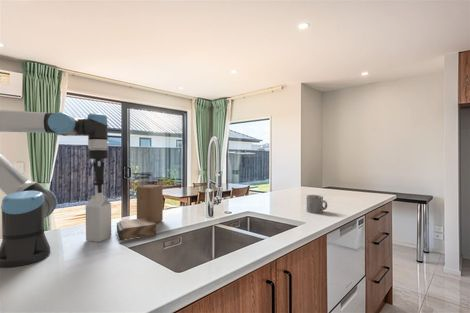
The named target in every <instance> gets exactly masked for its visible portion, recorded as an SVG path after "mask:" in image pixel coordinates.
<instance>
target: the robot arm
mask: <svg viewBox="0 0 470 313" xmlns="http://www.w3.org/2000/svg"><path fill="white" fill-rule="evenodd" d="M108 127H109V125H108V117H107V115H106V114H104V113H88V114H87V117H86V118H85V117H84V118H83V117H80V118H79V117H73V116H72V115H70V114H68V113H66V112H60V111H58V112H57V111H56V112H44V111H43V112H42V111H41V112H40V111H39V112H38V111H24V110H7V109H6V110H5V109H0V132H3V133H5V132H8V133H31V134H33V133H34V134H35V133H36V134H37V133H38V134H40V133H41V134H55V135H57V136H61V137H62V136H63V137H64V136H65V137H67V136H69V137H72V136H74V137H76V136H77V137H78V136H79V137H80V136H81V137H83V136H84V137H87V139H88V140H87V145H88V146H87V148H88V159H92V160H94V159H95V160H94V163H92V165H93V172H94V183H93V185H94V196H96V201H102V200H103V196H104V173H103V172H104V167H105V164H104V162H103V159H105V160H106V159H108V158H109V151H108V150H107V149H108V148H109V147H108V145H110V142H109V141H108V140H109V139H108V138H109V137H108V136H109V135H108V133H109V131H108V130H109V129H108ZM0 190H1V191H2V192H3V193H4V194H5V196H4V197H3V198H2V200H1V206H0V209H1V230H2V231H1V233H2V236H1V237H2V240H1V243H0V268H13V267H15V268H16V267H20V266H26V265H29V264H33V263H36V262H39V261H42V260H44V259H46V258H48V257H49V256H50V255H51V246H50V243H49V241H48V239H47V237H46V235H45V234H46V233H45V218H48V217H50V215H52V214H53V212H54V211H55V209H56V207H57V205H58V199H57V197H56V194H55V193H54V192H52V191H51V190H49V189H46V188H44V187H43V186H42V185H40V184H39V183H38V181H31V180H30V179H28V178H27V177H26V176H25V175H24V174H23V173H22V172H21V171H19V170H18V168H17V167H16V166H15V165H14V164H12V163H11V162H10V161H9V159H7V158H6V157H5V156H4V155H3V154H2V153H1V152H0Z"/></svg>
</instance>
